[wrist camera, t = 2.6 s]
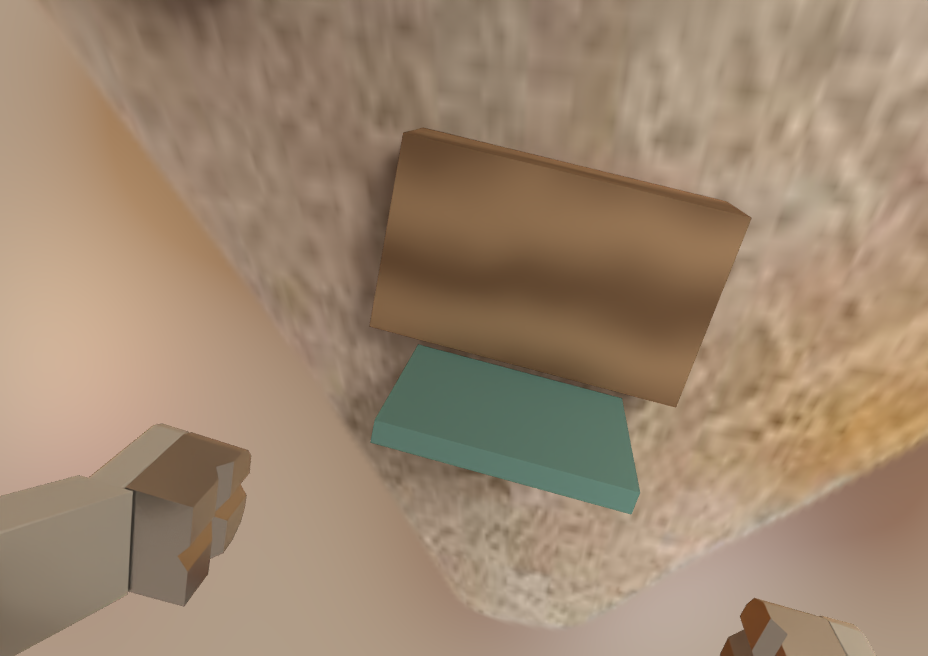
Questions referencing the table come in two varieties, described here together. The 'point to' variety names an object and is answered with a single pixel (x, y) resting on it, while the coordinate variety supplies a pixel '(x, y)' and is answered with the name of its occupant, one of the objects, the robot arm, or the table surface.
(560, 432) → the teal rectangular block
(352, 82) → the table surface
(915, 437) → the table surface
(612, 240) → the brown wooden block
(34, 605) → the robot arm
